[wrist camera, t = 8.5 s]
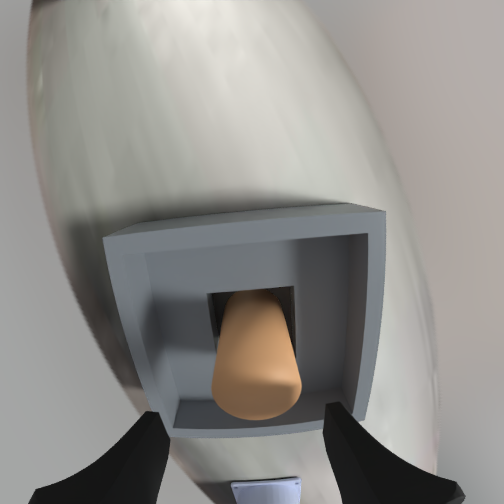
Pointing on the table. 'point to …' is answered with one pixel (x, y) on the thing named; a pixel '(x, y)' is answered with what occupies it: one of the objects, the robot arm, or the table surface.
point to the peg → (255, 358)
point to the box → (248, 278)
